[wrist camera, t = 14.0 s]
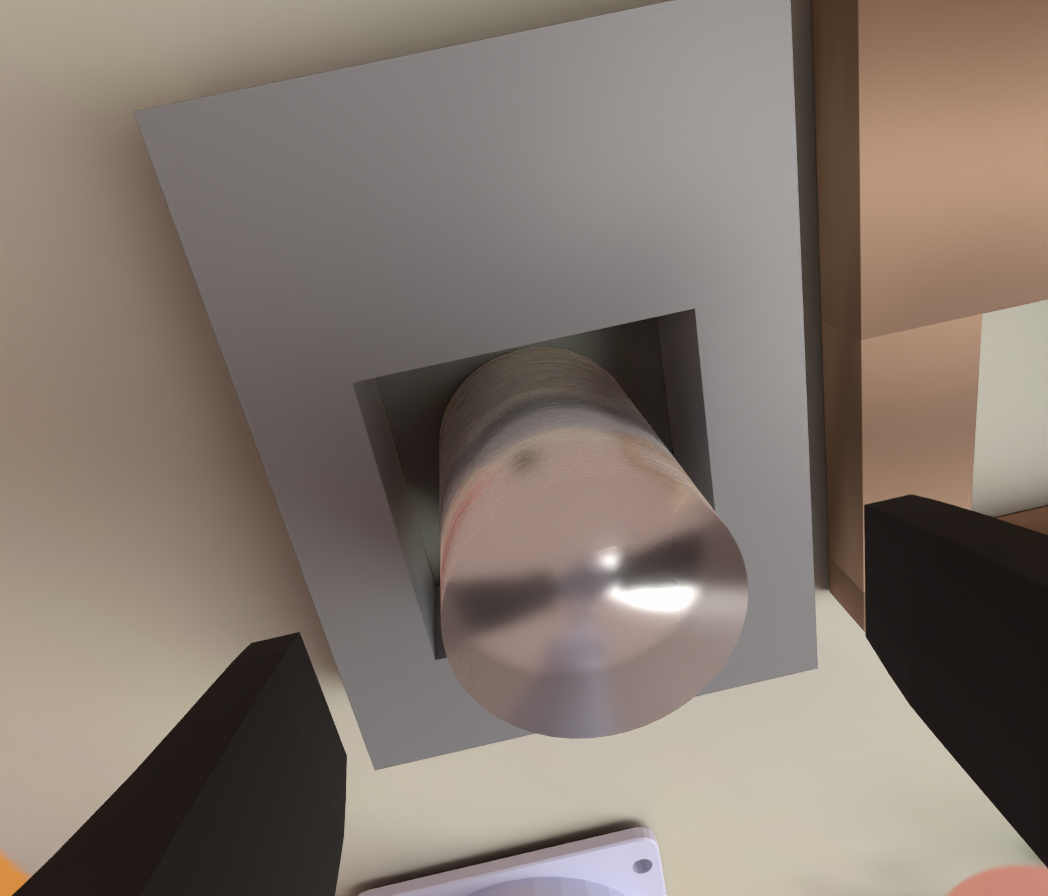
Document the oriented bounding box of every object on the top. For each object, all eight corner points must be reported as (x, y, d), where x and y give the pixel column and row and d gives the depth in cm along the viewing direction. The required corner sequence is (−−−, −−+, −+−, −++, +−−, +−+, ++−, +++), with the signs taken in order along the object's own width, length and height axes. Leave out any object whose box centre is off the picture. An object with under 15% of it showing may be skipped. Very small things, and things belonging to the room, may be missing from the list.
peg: (650, 501, 16) (764, 693, 10) (469, 551, 16) (487, 770, 10) (614, 323, 14) (727, 436, 9) (413, 377, 14) (399, 526, 9)
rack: (766, 597, 17) (817, 668, 15) (383, 684, 17) (374, 770, 15) (724, 6, 12) (789, -24, 10) (190, 116, 12) (132, 111, 10)
